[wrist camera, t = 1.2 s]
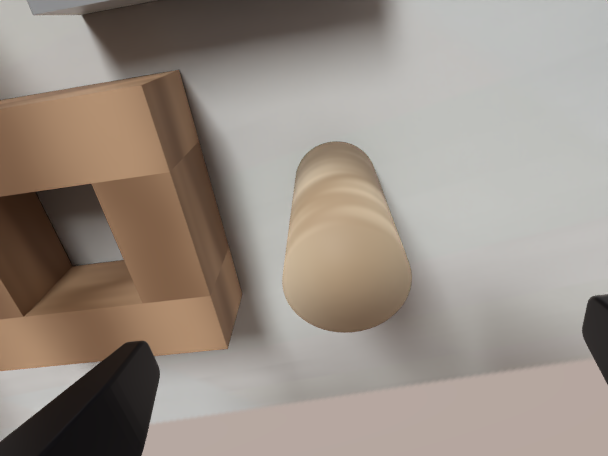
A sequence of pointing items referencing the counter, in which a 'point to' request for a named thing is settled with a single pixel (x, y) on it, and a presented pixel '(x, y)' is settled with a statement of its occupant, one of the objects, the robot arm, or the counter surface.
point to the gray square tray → (77, 6)
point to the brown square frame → (111, 227)
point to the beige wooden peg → (343, 244)
